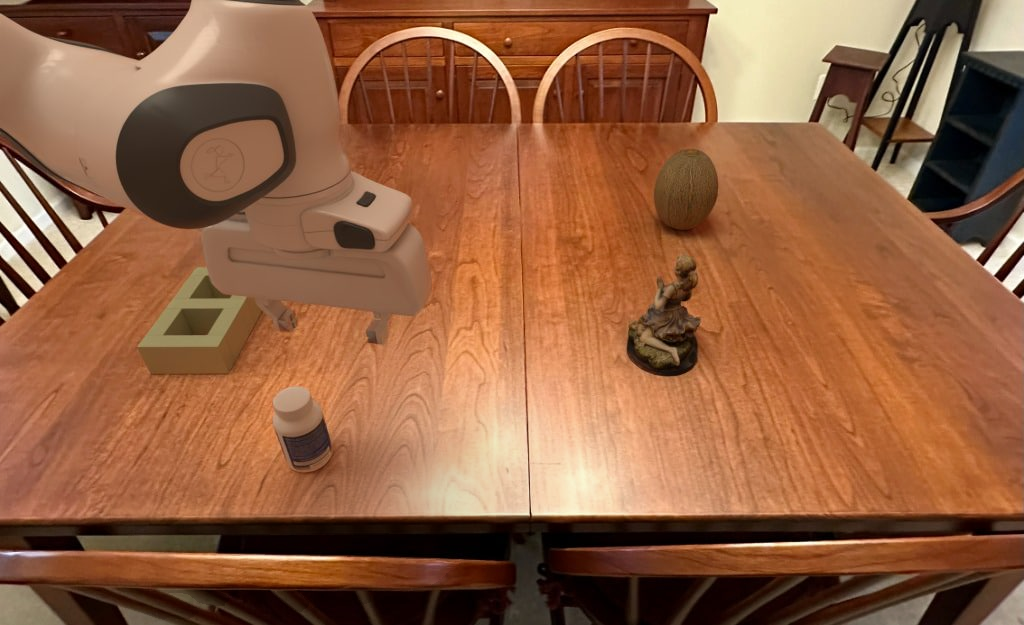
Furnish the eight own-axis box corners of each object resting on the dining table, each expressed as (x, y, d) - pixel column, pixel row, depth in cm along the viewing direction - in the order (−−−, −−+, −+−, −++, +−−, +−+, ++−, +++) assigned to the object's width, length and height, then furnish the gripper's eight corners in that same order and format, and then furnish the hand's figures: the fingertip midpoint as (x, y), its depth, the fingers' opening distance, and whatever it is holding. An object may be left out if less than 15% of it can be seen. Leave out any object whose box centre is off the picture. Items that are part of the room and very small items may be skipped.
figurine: (649, 313, 93) (663, 228, 84) (714, 342, 88) (738, 255, 79) (607, 352, 86) (618, 264, 77) (676, 386, 81) (697, 296, 72)
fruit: (718, 222, 116) (736, 147, 107) (695, 247, 109) (712, 169, 100) (663, 205, 121) (675, 133, 112) (638, 228, 114) (649, 153, 105)
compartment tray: (228, 374, 83) (217, 346, 80) (150, 374, 83) (136, 346, 80) (272, 292, 98) (264, 266, 95) (206, 292, 98) (196, 266, 95)
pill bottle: (343, 450, 73) (327, 392, 67) (309, 481, 69) (289, 423, 63) (311, 431, 75) (293, 374, 69) (277, 461, 71) (255, 403, 65)
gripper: (165, 212, 49) (216, 342, 58) (405, 236, 46) (422, 369, 54) (210, 179, 54) (251, 303, 62) (430, 198, 51) (442, 326, 59)
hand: (332, 334), depth 58 cm, fingers open, 8 cm apart
